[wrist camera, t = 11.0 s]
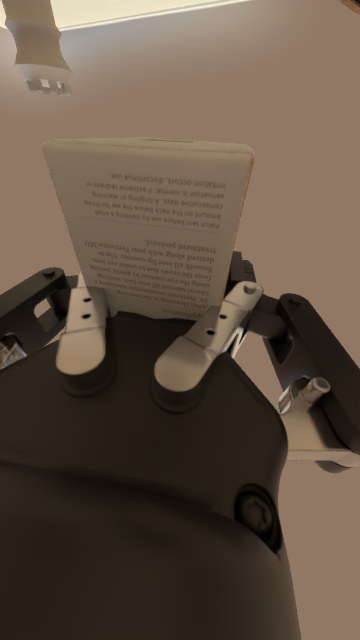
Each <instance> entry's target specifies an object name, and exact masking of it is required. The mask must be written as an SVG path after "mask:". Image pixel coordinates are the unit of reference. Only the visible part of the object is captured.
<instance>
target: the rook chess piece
mask: <svg viewBox="0 0 360 640" xmlns="http://www.w3.org/2000/svg"><path fill="white" fill-rule="evenodd" d="M2 4H3V7H4V10H5V13H6V16H7V17H6V21H5V25H6V27H7V28H8V29H9V30H10V32H11V33H12V35H13V37H14V40H15V42H16V47H17V54H16V60H15V66H14V67H15V68H16V69H17V71H18V72H19V73H20V74H21V76H22V77H23V78H24V79H25V80H26V83H27V87H28V89H29V91H30V92H32V93H39V91H43V94H44V95H51V92H57V95H58V96H65V94H66V95H69V96H71V95H72V94H71V89H70V82H71V79H72V76H73V72H72V71H71V70H70V68H69V66H68V65H67V63H66V62H65V60H64V59H63V57H62V54H61V51H60V46H59V39H60V36H61V33H60V32H59V30H58V28H57V27H56V25H55V21H54V16H53V12H52V7H51V3H50V0H2ZM50 91H51V92H50Z"/></svg>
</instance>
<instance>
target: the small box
mask: <svg viewBox="0 0 360 640" xmlns="http://www.w3.org/2000/svg"><path fill="white" fill-rule="evenodd" d="M43 153H44V156H45V159H46V162H47V165H48V168H49V171H50V175H51V178H52V181H53V184H54V187H55V190H56V193H57V197H58V200H59V203H60V206H61V209H62V212H63V215H64V218H65V221H66V224H67V227H68V231H69V234H70V238H71V240H72V244H73V247H74V250H75V253H76V256H77V260H78V262H79V266H80V269H81V272H82V275H83V279H84V282H85V285H86V286H94V287H100V288H104V289H105V293H106V297H107V300H108V304H109V308H110V312H111V316H115V315H116V314H117V312H118V311H125V312H133V313H138V314H141V315H144V316H147V317H150V318H153V319H168V318H181V319H189V320H197V321H198V320H199V319H200V318H201V316H202V315H203V314H204V313H205V312H206V311H207V310H208V309H209V308H210V306H211V305H212V306H221V305H222V303H223V298H224V294H225V289H226V284H227V279H228V274H229V269H230V264H231V259H232V254H233V249H234V244H235V240H236V235H237V231H238V226H239V221H240V217H241V213H242V209H243V205H244V200H245V196H246V192H247V188H248V184H249V180H250V175H251V172H252V167H253V164H254V151H253V150H252V149H250V148H249V146H248V145H241V144H228V143H213V142H199V141H183V140H169V139H156V138H107V139H106V138H105V139H65V140H49V141H46V142H45V143H44V144H43Z"/></svg>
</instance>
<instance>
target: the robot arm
mask: <svg viewBox="0 0 360 640" xmlns="http://www.w3.org/2000/svg"><path fill="white" fill-rule="evenodd" d="M263 292H264V290H263V288H262V287H261V286H260V285H259V284H257V283H256V278H255V274H254V270H253V265H252V264H251V263H250V262H249V261H248V260H242V255H241V252H236V251H233V254H232V259H231V264H230V269H229V274H228V279H227V284H226V289H225V294H224V298H223V303H222V305H221V306H212V305H211V306H210V308H209V309H208V310H207V311H206V312H205V313H204V314H203V315H202V316H201V318H200V319H199V320H198V321H197V320H189V319H181V318H168V319H153V318H150V317H147V316H144V315H141V314H138V313H133V312H125V311H118V312H117V314H116V315H115V316H111V312H110V308H109V304H108V300H107V297H106V293H105V289H104V288H100V287H94V286H86V285H85V282H84V279H83V275H82V272H81V270H80V271H79V275H76V276H65V273H64V271H63V269H61V268H56V267H54V268H47V269H44V270H41V271H39V272H37V273H36V274H34V275H32V276H31V277H29V278H28V279H26V280H24V281H23V282H21V283H19V284H18V285H16V286H14V287H13V288H11V289H9V290H8V291H6V292H5V293H3V294H1V295H0V640H301V634H300V628H299V622H298V615H297V609H296V602H295V596H294V590H293V583H292V577H291V571H290V566H289V561H288V556H287V551H286V547H285V543H284V538H283V534H282V529H281V525H280V519H279V512H278V490H279V482H280V477H281V473H282V470H283V467H284V465H285V462H286V460H291V461H314V462H315V463H316V464H317V465H318V466H319V467H320V468H322V469H323V470H325V471H328V472H330V473H339V472H342V471H345V470H347V469H350V468H352V467H355V466H357V465H360V369H359V368H358V366H357V365H356V364H355V362H354V361H353V360H352V358H351V357H350V356H349V354H348V353H347V352H346V350H345V349H344V348H343V346H342V345H341V344H340V342H339V341H338V340H337V338H336V337H335V336H334V334H333V333H332V332H331V330H330V329H329V328H328V326H327V325H326V324H325V323H324V321H323V320H322V318H321V317H320V316H319V314H318V313H317V312H316V310H315V309H314V308H313V306H312V305H311V304H310V302H309V301H308V300H307V299H305V298H304V297H301V296H299V295H296V294H291V293H287V294H283V295H282V296H281V297H280V299H279V300H278V299H275V298H272V297H268V296H266V295H264V294H263ZM45 298H46V299H47V300H48V302H49V304H50V306H51V308H50V309H48V310H47V311H46V312H45V313H43V314H42V315H41V316H40V317H38V318H37V317H36V316H35V314H34V308H35V306H36V305H37V304H39V303H40V302H41V301H43V300H44V299H45ZM65 326H66V327H65ZM64 327H65V332H64V333H62V334H61V335H60V339H59V340H57V341H55V342H53V343H51V344H49V345H47V346H45V345H46V344H47V343H49V342H50V341H51V340H52V339H53V338H54V337H55V336H56V335H57V334H58V333H59V332H60V331H61V330H62V329H63V328H64ZM248 332H252V333H255V334H257V335H260V336H263V341H264V344H265V346H266V349H267V351H268V354H269V356H270V359H271V361H272V364H273V366H274V369H275V372H276V374H277V377H278V379H279V382H280V384H281V387H282V389H283V392H284V393H283V394H282V396H281V397H280V399H279V409H280V414H279V413H278V412H277V410H276V409H275V408H274V406H273V405H272V404H271V403H270V402H269V401H268V399H267V398H266V397H265V396H264V395H263V393H262V392H261V391H260V390H259V389H258V388H257V386H256V385H255V384H254V383H253V382H252V380H251V379H250V378H249V377H248V376H247V375H246V373H245V372H244V371H243V370H242V369H241V367H240V366H239V365H238V364H237V363H236V362H235V360H234V356H235V354H236V352H237V350H238V349H239V347H240V345H241V344H242V342H243V340H244V338H245V337H246V335H247V333H248ZM44 346H45V347H44Z"/></svg>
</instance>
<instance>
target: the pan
mask: <svg viewBox="0 0 360 640" xmlns="http://www.w3.org/2000/svg"><path fill="white" fill-rule="evenodd" d="M339 1H340V2H341V3H342V4H344V5H345V6H347V7H348V8H349V9H351V10H352V11H354V12H356V13H359V14H360V0H339Z"/></svg>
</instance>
